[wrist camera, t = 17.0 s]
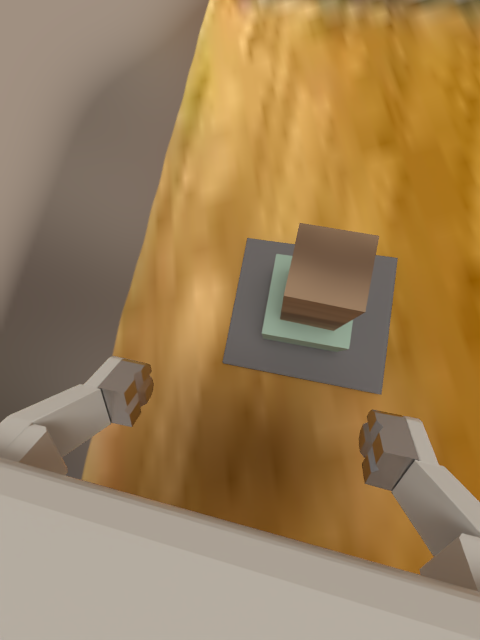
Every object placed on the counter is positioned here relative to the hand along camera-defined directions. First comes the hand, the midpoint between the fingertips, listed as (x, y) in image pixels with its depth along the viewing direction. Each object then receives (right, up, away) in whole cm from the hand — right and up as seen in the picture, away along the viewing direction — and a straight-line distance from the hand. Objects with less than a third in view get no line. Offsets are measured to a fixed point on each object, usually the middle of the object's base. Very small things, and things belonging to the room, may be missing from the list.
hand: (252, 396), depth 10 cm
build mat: (+7, +4, +22) cm, 23 cm away
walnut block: (+6, +5, +16) cm, 18 cm away
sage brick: (+7, +4, +21) cm, 22 cm away
